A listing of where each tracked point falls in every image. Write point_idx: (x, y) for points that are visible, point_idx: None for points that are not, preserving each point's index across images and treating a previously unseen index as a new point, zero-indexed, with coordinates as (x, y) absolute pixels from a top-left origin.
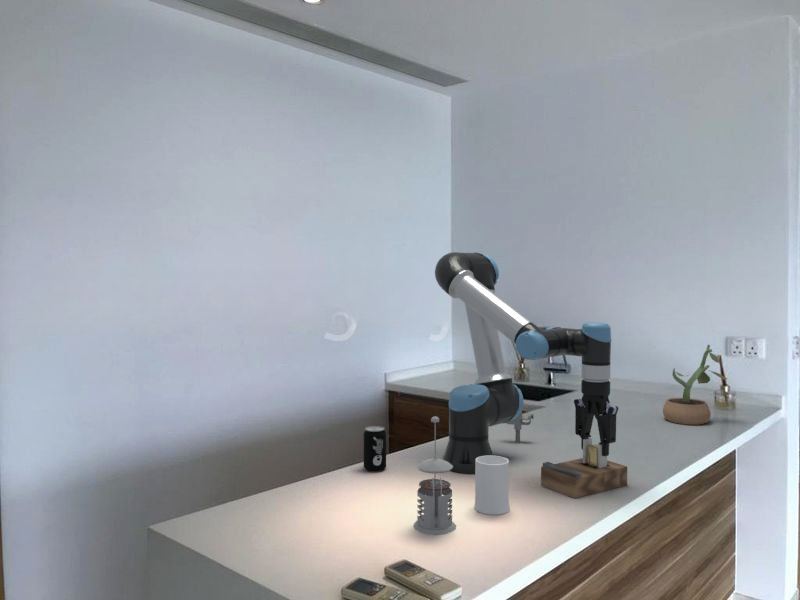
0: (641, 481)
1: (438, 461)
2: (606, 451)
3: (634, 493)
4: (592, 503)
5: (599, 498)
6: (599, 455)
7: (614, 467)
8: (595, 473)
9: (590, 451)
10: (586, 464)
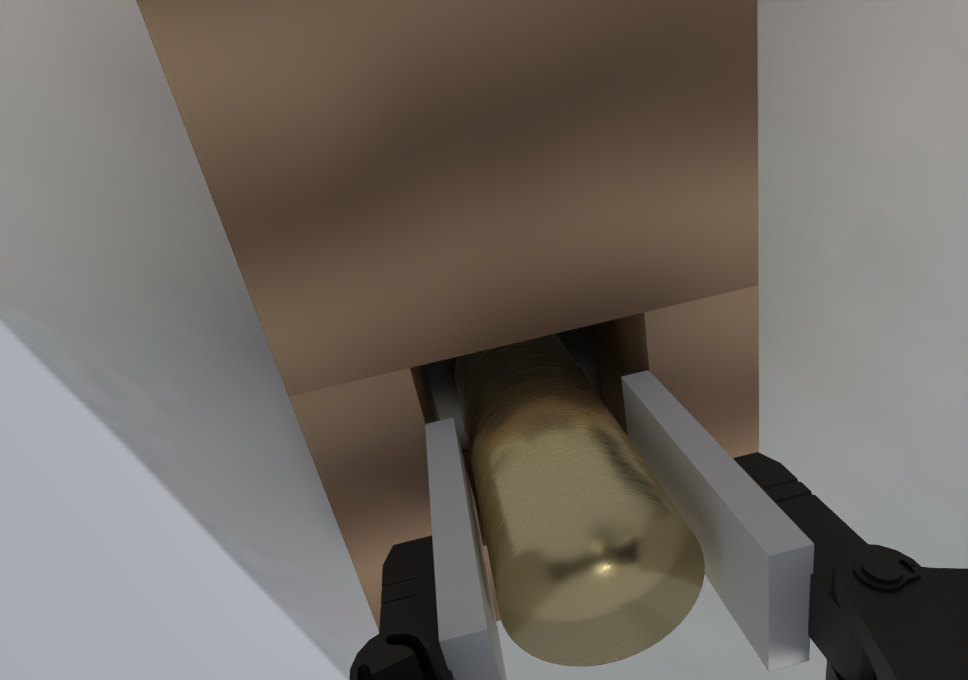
0: None
1: None
2: (388, 613)
3: (211, 490)
4: (8, 12)
5: (143, 172)
6: (440, 506)
7: None
8: (256, 273)
9: (572, 470)
10: None
